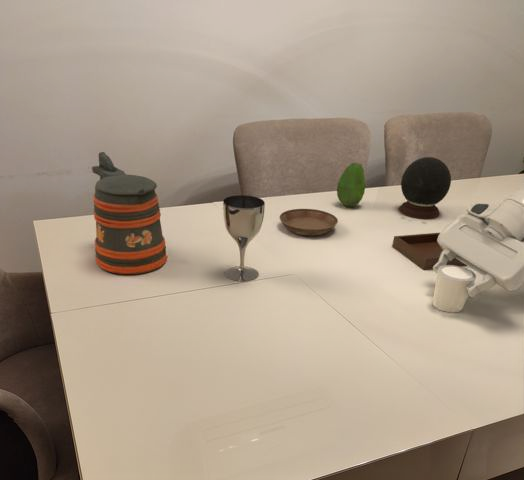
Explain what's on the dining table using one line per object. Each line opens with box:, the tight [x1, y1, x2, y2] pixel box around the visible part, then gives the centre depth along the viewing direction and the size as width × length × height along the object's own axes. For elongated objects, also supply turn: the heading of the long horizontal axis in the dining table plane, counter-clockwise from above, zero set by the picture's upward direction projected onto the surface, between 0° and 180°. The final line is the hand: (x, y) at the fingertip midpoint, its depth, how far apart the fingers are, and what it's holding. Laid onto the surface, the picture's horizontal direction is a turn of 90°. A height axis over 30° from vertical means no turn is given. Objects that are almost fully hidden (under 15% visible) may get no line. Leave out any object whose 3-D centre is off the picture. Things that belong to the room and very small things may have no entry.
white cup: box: [432, 265, 477, 313], centre depth 95 cm, size 7×7×7 cm
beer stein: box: [91, 151, 168, 275], centre depth 102 cm, size 19×15×20 cm
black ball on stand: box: [398, 156, 452, 220], centre depth 139 cm, size 13×13×15 cm
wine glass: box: [222, 194, 266, 282], centre depth 100 cm, size 8×8×15 cm
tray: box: [391, 232, 467, 271], centre depth 117 cm, size 15×14×3 cm
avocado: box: [336, 162, 366, 208], centre depth 142 cm, size 8×8×12 cm
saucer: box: [279, 208, 339, 237], centre depth 127 cm, size 15×15×3 cm
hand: (451, 282), depth 94 cm, fingers open, 8 cm apart
